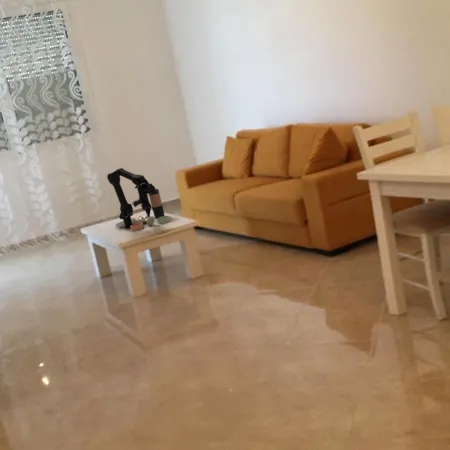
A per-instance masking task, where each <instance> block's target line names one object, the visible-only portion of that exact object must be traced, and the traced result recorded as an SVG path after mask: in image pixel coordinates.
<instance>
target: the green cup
mask: <svg viewBox="0 0 450 450" xmlns="http://www.w3.org/2000/svg"><path fill="white" fill-rule="evenodd" d="M156 222H157V224H158V225H161V224H162V225H163V224H167V223H169V222H171V219H170V215H165V216H163V217H160V218H158V219H156Z"/></svg>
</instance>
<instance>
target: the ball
mask: <svg viewBox="0 0 450 450" xmlns="http://www.w3.org/2000/svg"><path fill="white" fill-rule="evenodd" d="M145 222H146V225H147V226H153V224H154V222H155V221H154V219H153V218H152V217H151V218H150V217H148V218H147V219H146V221H145Z"/></svg>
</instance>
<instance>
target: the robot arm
mask: <svg viewBox="0 0 450 450" xmlns="http://www.w3.org/2000/svg"><path fill="white" fill-rule="evenodd" d="M121 177H123V178H125V179H127V180H129V181H131V183H132V184H134V185H135V187H134V189H137V193H138V198H137V199H135V200H134V201H132V203H129V202H128V200H127V198H126V196H125V193H124V191H123V188H122V185H121ZM106 178H107V180H108V183H109V184H111V186H112V187H113V189H114V192H115V194H116V196H117V199H118V202H119V205H120V208H119V210H120V214H119V216H118V217H119V219H120V220H123V226H124V228H129V227H130V226H131V225H132V223H133V220H132V216H133V215H134V208H136V207H138V206H139V205H140V206H141V209H142V210H143V211H145V213H146V215H147V217H148V218H150V216H151V211H152V206H151V202H150V198H149V194H153V193H154V192H155V189H156V187H155V185H153V183H151V182H149V181H148V180H147V179H146V178H145V176H144V175H143V174H136V173H135V174H134V173H133V172H131V171H128V170H126V169H124V168H122V167H119V168H117V169H116V170H115V171H113V172H110V173H107V176H106ZM132 205H133V206H134V208H133V206H132Z"/></svg>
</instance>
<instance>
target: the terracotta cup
mask: <svg viewBox="0 0 450 450" xmlns="http://www.w3.org/2000/svg"><path fill="white" fill-rule="evenodd" d="M129 227H130V230H131V232H132V231H138V230H142V229H143V228H145V227H144V222H136V223H135V222H134V223H133V224H132V225H131V226H129Z"/></svg>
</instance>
